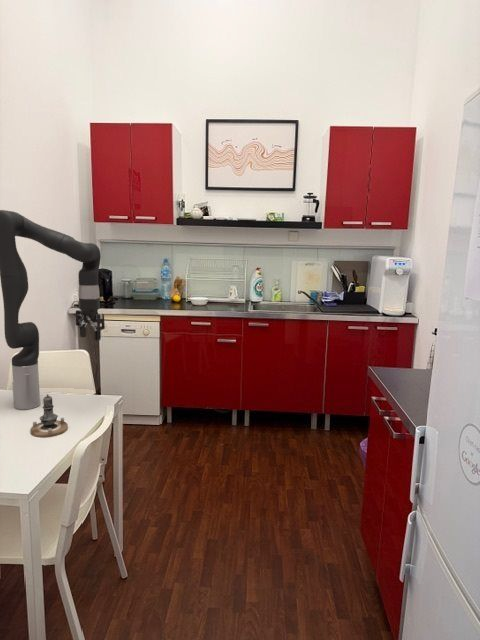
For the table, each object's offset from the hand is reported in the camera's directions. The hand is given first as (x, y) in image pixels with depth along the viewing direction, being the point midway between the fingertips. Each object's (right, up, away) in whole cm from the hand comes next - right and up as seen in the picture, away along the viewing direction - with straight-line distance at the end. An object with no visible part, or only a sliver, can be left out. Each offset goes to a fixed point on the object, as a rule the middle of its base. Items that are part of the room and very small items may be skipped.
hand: (90, 338), depth 173 cm
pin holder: (-9, -31, -16) cm, 36 cm away
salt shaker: (-9, -30, -16) cm, 35 cm away
